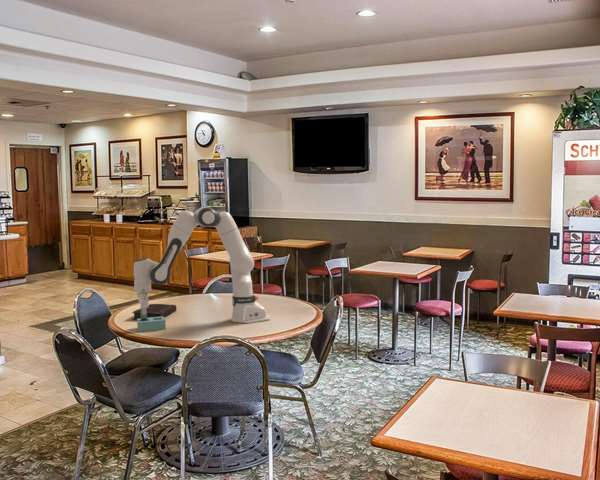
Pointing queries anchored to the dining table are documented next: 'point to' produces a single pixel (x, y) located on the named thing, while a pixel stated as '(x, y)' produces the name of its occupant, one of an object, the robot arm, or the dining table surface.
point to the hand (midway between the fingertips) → (143, 313)
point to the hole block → (151, 324)
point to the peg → (143, 316)
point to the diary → (156, 311)
